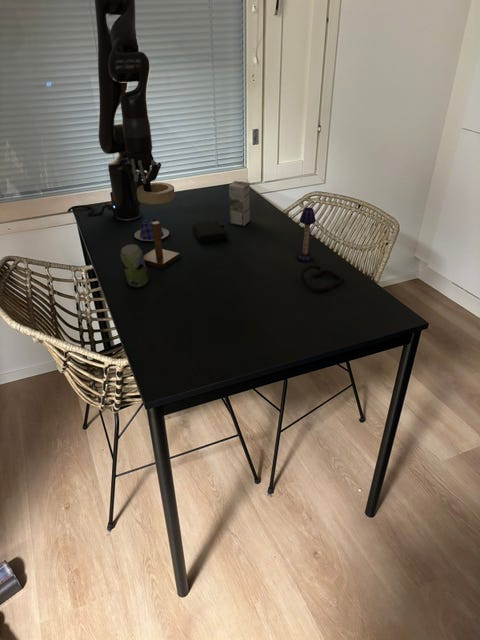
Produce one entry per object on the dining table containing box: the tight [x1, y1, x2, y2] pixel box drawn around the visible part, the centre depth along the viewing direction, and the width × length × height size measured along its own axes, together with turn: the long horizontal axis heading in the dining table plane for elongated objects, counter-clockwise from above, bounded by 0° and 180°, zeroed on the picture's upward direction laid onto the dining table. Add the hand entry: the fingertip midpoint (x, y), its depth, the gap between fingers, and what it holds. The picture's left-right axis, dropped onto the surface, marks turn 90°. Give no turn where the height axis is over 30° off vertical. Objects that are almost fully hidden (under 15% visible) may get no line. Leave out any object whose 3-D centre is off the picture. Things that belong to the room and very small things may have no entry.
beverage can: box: [119, 243, 150, 288], centre depth 140 cm, size 6×7×12 cm
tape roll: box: [137, 181, 176, 205], centre depth 145 cm, size 10×10×3 cm
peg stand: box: [143, 220, 181, 270], centre depth 153 cm, size 9×9×12 cm
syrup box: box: [228, 180, 251, 227], centre depth 178 cm, size 6×6×14 cm
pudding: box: [133, 218, 170, 242], centre depth 171 cm, size 12×12×5 cm
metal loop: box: [299, 264, 344, 293], centre depth 141 cm, size 13×5×10 cm
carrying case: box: [192, 219, 228, 244], centre depth 171 cm, size 11×3×15 cm
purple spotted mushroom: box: [297, 206, 316, 263], centre depth 151 cm, size 5×5×17 cm
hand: (144, 193), depth 147 cm, fingers closed on tape roll
